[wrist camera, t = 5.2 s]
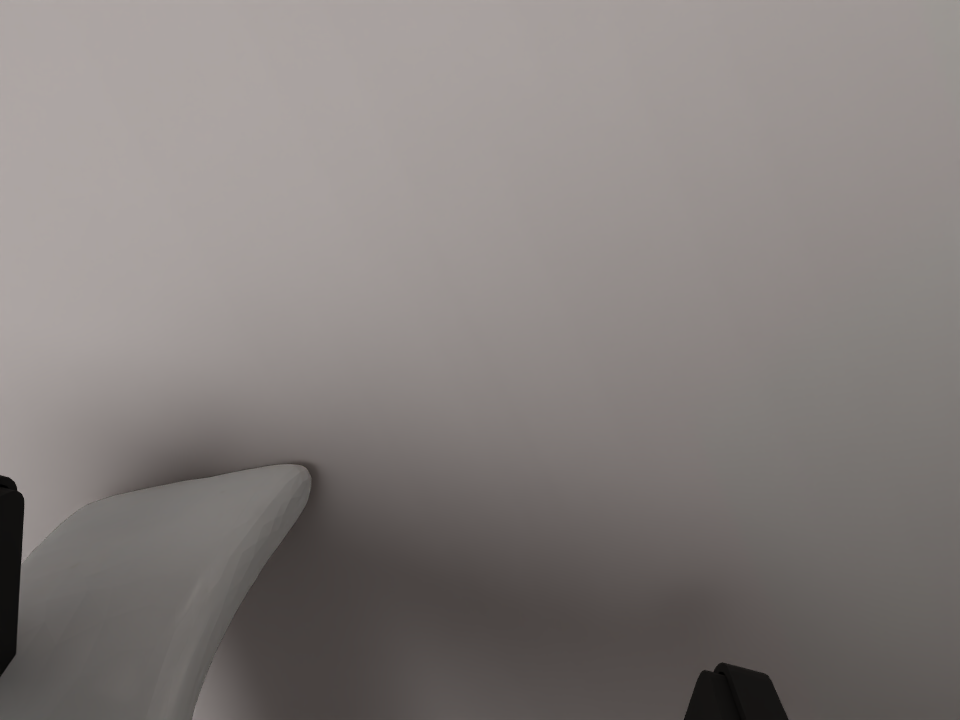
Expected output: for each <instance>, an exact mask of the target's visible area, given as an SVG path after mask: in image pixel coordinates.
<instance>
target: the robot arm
mask: <svg viewBox="0 0 960 720" xmlns="http://www.w3.org/2000/svg"><path fill="white" fill-rule="evenodd" d="M23 520H24V498H23V496H22V494H21V493H20V492H18V491H17V486H16V484H15V482H14V481H13V480H12V479H10V478H9V477H5V476H1V475H0V677H1V675H2V674H3V672H4V671H5V670H6V668H7V667H8V665H9V664H10V662H11V661H12V659H13V658H14V656H15V655H16V647H17V629H18V610H19V592H20V574H21V556H22V538H23ZM684 720H788V718H787V715H786V713H785V711H784V708H783V706H782V704H781V702H780V699H779V697H778V695H777V693H776V690H775V688H774V686H773V683H772V681H771V680H770V678H769V676H768V675H766V674H764V673H761V672H757V671H753V670H749V669H745V668H741V667H738V666H734V665H730V664H726V663H720V664H718V666H717V667H716V668H715V670H714V672H710V671H706V670H704V671H702V672H701V673H700V675H699V677H698V680H697V682H696V685H695V688H694V691H693V694H692V697H691V700H690V703H689V706H688V709H687V712H686V715H685V718H684Z"/></svg>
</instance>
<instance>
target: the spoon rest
mask: <svg viewBox="0 0 960 720" xmlns="http://www.w3.org/2000/svg"><path fill="white" fill-rule="evenodd" d="M310 490H311V476H310V474H309V471H308V470H307V469H306V468H305V467H304V466H302V465H294V464H281V465H272V466H266V467H260V468H254V469H248V470H242V471H237V472H231V473H227V474H222V475H218V476H214V477H208V478H201V479H194V480H186V481H181V482H176V483H171V484H166V485H161V486H157V487H152V488H147V489H142V490H137V491H132V492H127V493H123V494H118V495H114V496H111V497H108V498H105V499H102V500H99V501H96V502H93V503H90V504H88V505H86V506H84V507H83V508H81V509H79V510H78V511H76V512H75V513H74V514H73V515H71V516H70V517H69V518H68V519H66V520H65V521H64V522H63V523H62V524H60V525H59V526H58V527H57V528H56V529H55V530H54V531H53V532H52V533H51V534H50V535H49V536H48V537H47V538H46V539H45V540H44V541H43V542H42V543H41V544H40V545H39V546H38V547H37V548H36V549H35V550H34V551H33V552H32V553H31V554H30V555H29V556H28V557H27V558H26V560H25V561H24V562H23V563H22V564H21V574H20V592H19V610H18V629H17V647H16V655H15V656H14V658H13V659H12V661H11V662H10V664H9V665H8V667H7V668H6V670H5V671H4V672H3V674H2V675H1V677H0V720H192V716H193V712H194V708H195V705H196V702H197V699H198V696H199V694H200V691H201V688H202V685H203V682H204V679H205V676H206V674H207V671H208V669H209V667H210V664H211V662H212V660H213V657H214V655H215V653H216V650H217V648H218V645H219V644H220V642H221V640H222V638H223V636H224V634H225V632H226V630H227V628H228V626H229V624H230V622H231V620H232V619H233V617H234V615H235V613H236V611H237V609H238V608H239V606H240V604H241V603H242V601H243V599H244V598H245V596H246V594H247V592H248V591H249V589H250V587H251V586H252V585H253V584H254V582H255V580H256V579H257V577H258V575H259V573H260V572H261V570H262V568H263V567H264V565H265V564H266V562H267V561H268V559H269V558H270V557H271V555H272V554H273V553H274V551H275V550H276V549H277V548H278V546H279V545H280V543H281V542H282V540H283V539H284V537H285V536H286V534H287V533H288V531H289V530H290V529H291V528H292V526H293V525H294V524H295V522H296V521H297V519H298V517H299V516H300V514H301V512H302V511H303V509H304V507H305V506H306V504H307V502H308V498H309V494H310Z"/></svg>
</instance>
